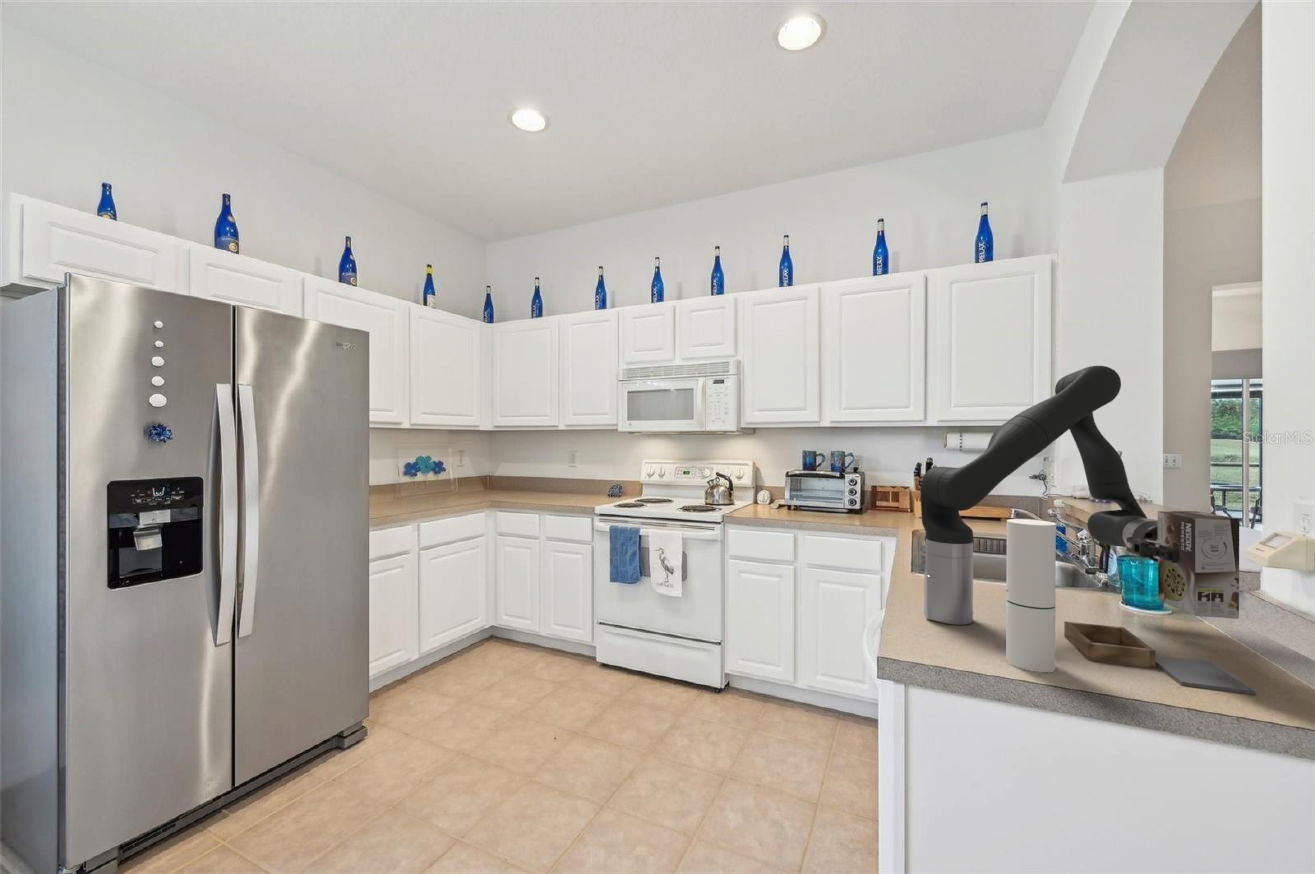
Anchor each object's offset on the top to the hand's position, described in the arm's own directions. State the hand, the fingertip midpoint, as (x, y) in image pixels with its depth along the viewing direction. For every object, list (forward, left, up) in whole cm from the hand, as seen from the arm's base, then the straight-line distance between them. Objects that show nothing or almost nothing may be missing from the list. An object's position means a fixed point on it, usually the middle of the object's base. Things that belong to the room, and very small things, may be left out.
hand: (1204, 558), depth 90 cm
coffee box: (0, +2, -9) cm, 10 cm away
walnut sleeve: (-10, +9, -20) cm, 24 cm away
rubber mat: (0, +2, -20) cm, 20 cm away
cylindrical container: (-25, -3, -20) cm, 32 cm away
